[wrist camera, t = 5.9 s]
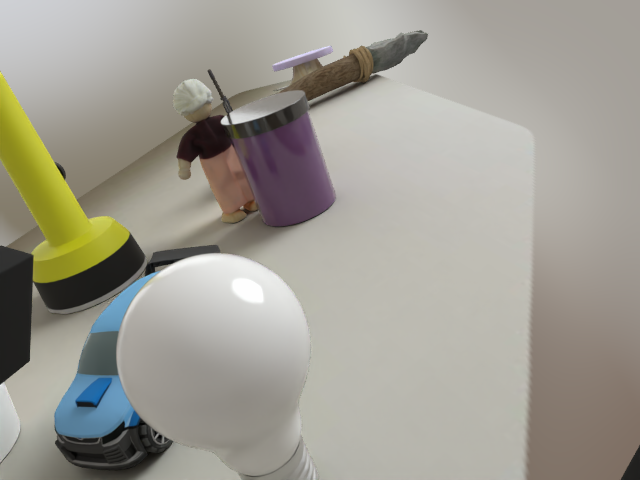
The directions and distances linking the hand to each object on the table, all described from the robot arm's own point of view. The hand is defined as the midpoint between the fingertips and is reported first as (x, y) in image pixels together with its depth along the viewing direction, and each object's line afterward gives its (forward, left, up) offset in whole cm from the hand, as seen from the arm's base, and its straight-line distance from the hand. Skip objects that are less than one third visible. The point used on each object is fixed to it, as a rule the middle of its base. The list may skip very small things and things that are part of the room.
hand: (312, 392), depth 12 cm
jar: (+6, -35, -10) cm, 37 cm away
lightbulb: (+4, -6, -10) cm, 13 cm away
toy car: (+12, -14, -10) cm, 22 cm away
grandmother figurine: (+12, -37, -10) cm, 41 cm away
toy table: (+8, -81, -10) cm, 82 cm away
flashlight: (+24, -31, -10) cm, 41 cm away
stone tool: (+14, -68, -8) cm, 69 cm away
